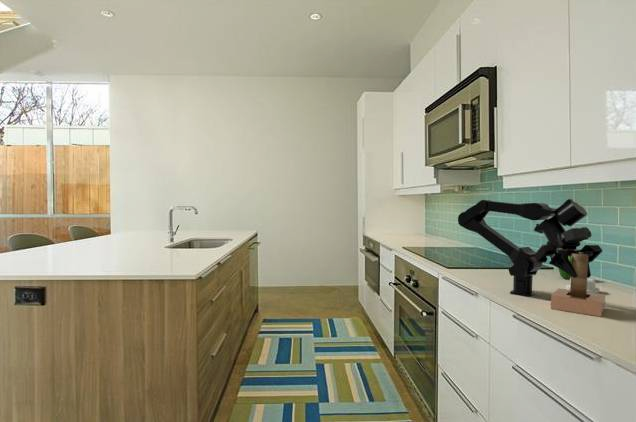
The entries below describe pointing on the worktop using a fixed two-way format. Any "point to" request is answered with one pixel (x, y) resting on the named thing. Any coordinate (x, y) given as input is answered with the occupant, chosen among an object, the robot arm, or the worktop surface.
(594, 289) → the mechanical component
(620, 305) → the worktop surface
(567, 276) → the bell pepper
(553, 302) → the hollow square frame
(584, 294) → the pin
